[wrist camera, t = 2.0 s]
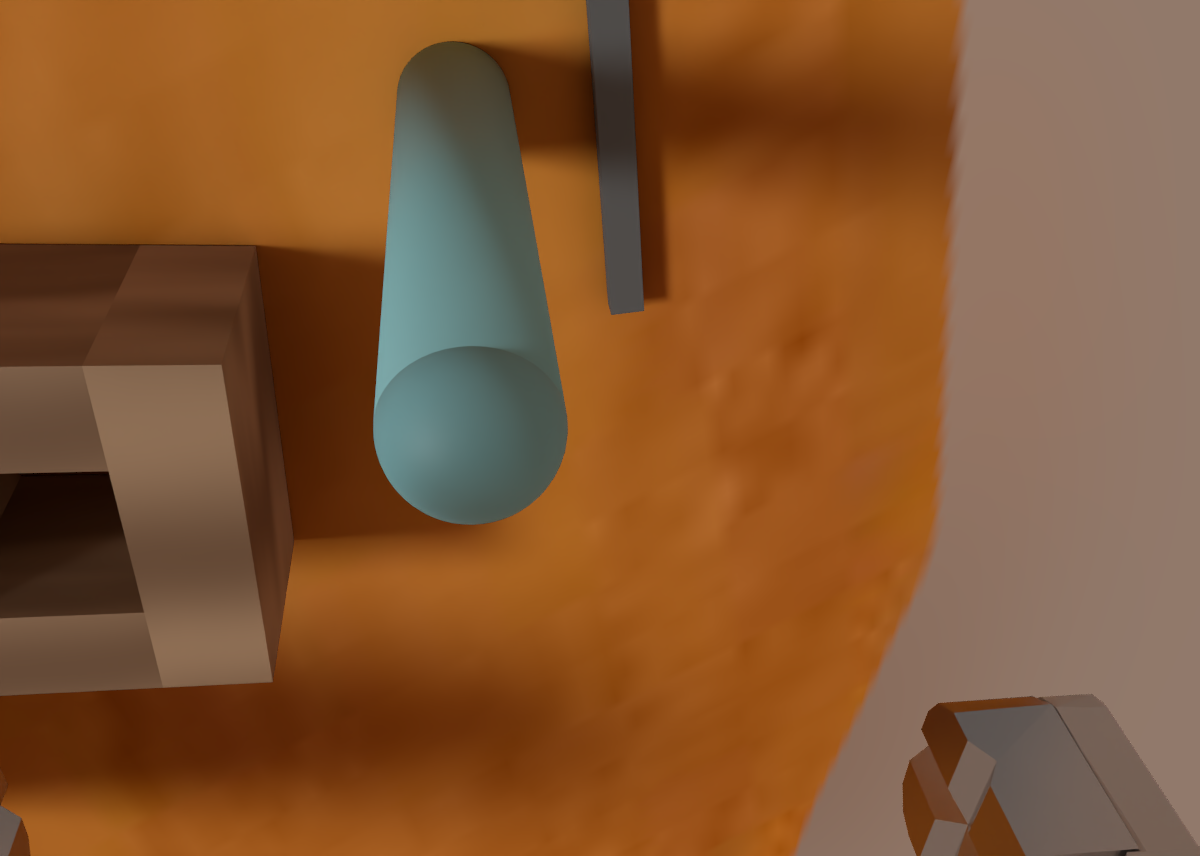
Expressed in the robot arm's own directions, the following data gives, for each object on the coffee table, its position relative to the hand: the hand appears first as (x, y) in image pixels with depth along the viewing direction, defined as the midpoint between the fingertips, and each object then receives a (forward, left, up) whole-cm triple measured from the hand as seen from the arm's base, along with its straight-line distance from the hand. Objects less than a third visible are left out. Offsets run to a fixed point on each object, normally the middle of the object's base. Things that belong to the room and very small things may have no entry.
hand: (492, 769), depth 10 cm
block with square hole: (+8, -9, -17) cm, 21 cm away
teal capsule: (0, 0, -17) cm, 17 cm away
